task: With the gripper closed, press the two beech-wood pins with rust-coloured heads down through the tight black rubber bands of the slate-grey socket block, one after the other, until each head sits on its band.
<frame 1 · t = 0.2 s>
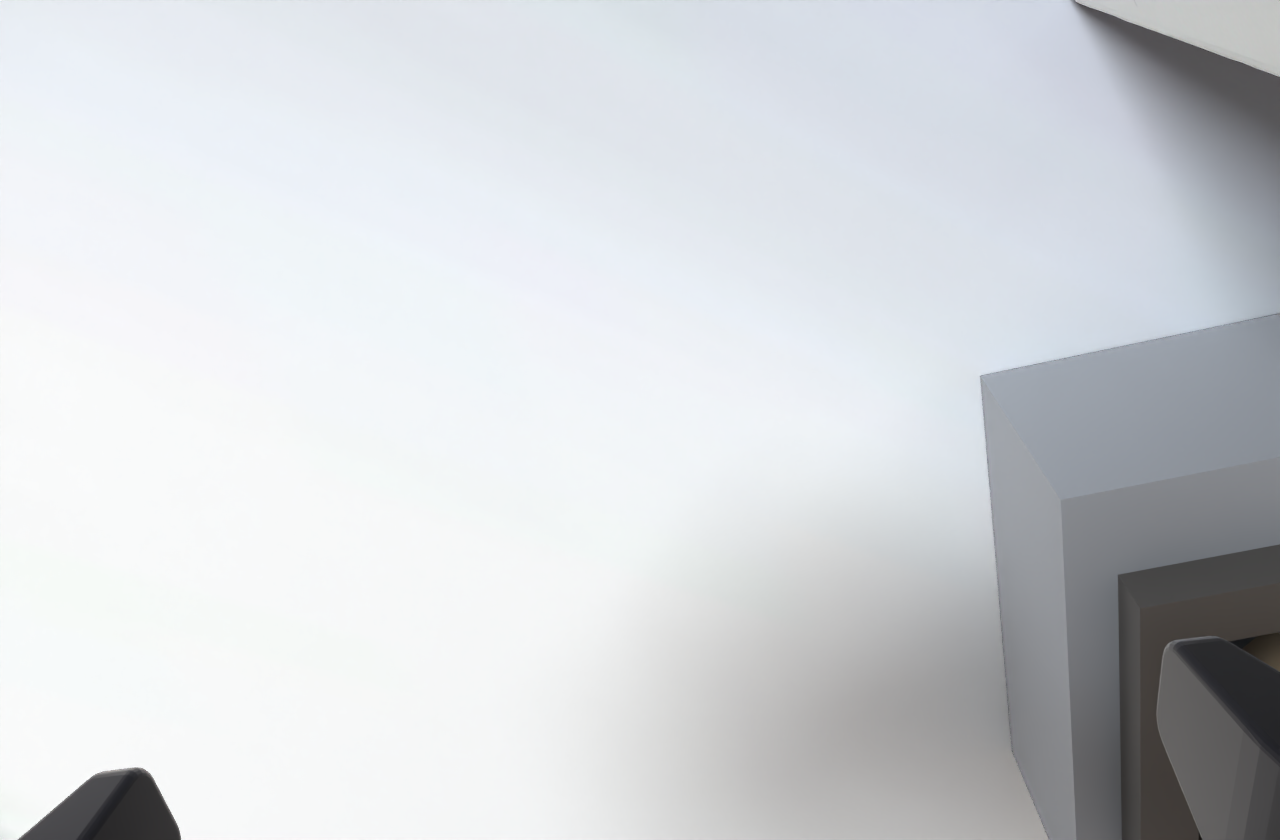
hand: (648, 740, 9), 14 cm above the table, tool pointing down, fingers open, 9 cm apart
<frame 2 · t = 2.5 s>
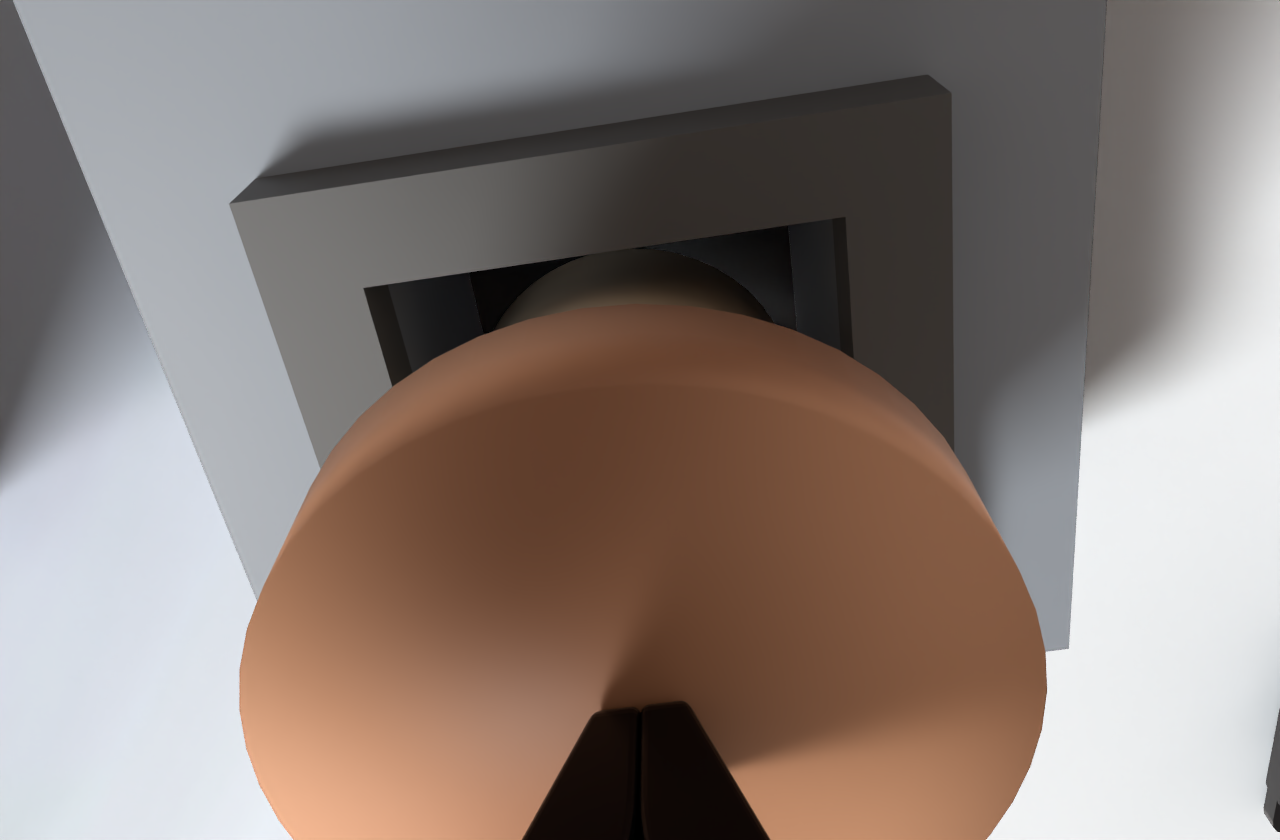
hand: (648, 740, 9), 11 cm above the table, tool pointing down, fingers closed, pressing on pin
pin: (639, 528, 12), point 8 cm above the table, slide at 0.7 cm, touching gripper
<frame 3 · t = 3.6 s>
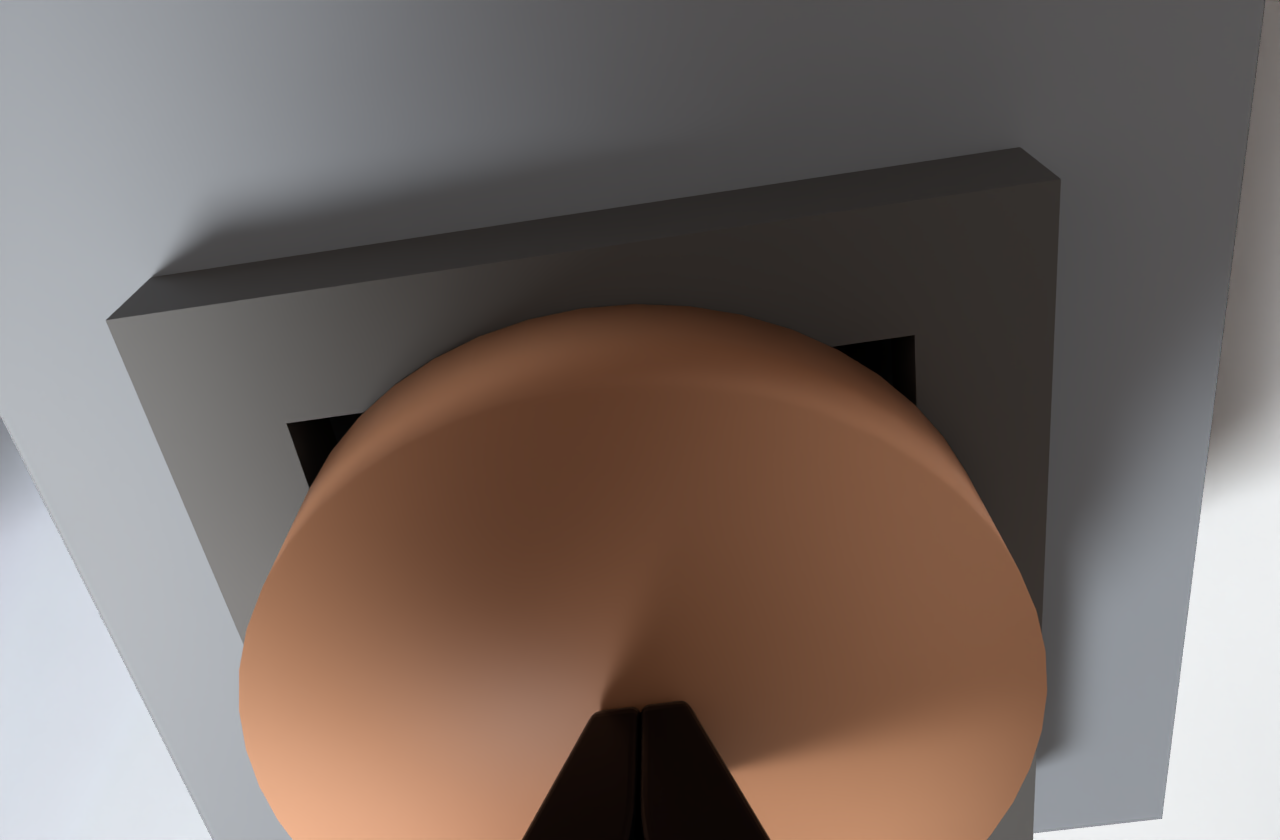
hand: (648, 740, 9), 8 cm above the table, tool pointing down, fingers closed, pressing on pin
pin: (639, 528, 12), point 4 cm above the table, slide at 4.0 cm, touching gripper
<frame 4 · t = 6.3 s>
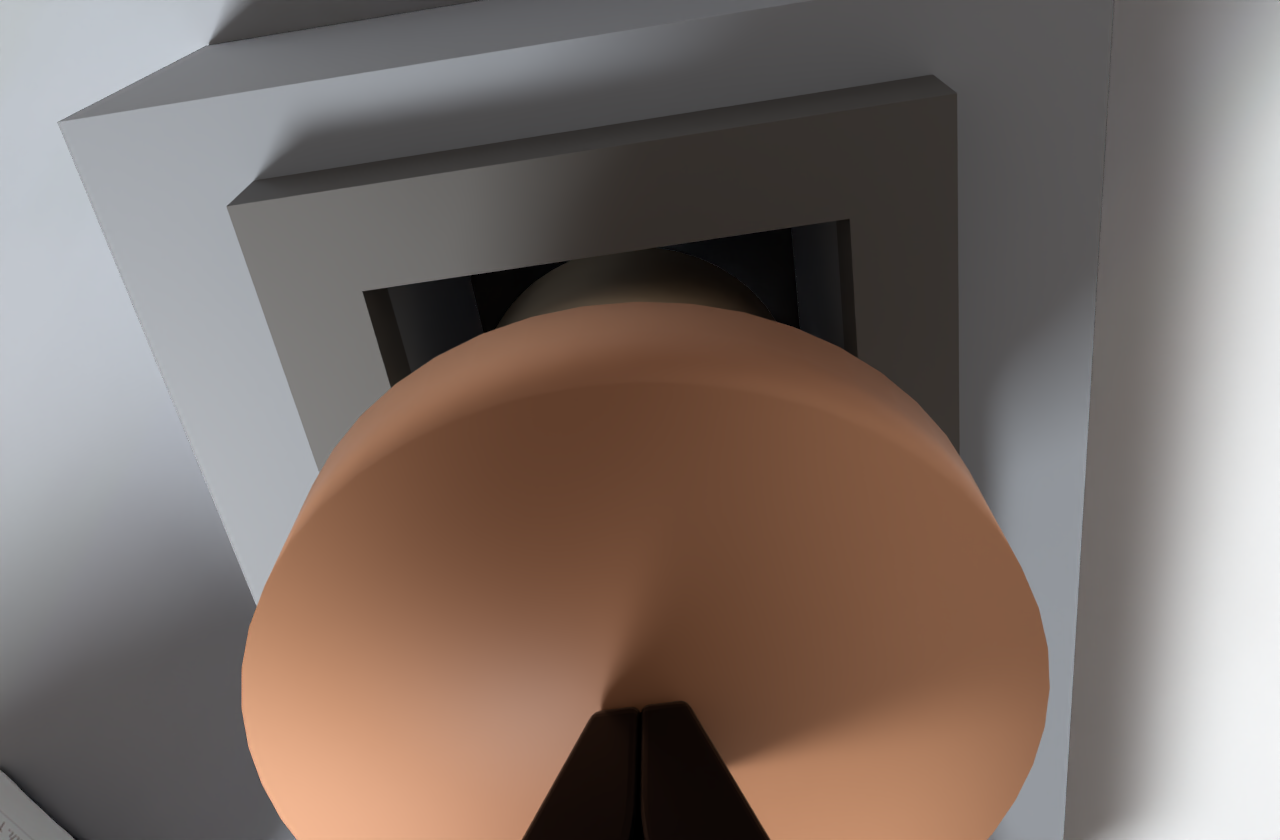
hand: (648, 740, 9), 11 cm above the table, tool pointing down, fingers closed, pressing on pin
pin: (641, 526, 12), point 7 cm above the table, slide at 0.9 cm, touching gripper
socket block: (682, 580, 22), on the table
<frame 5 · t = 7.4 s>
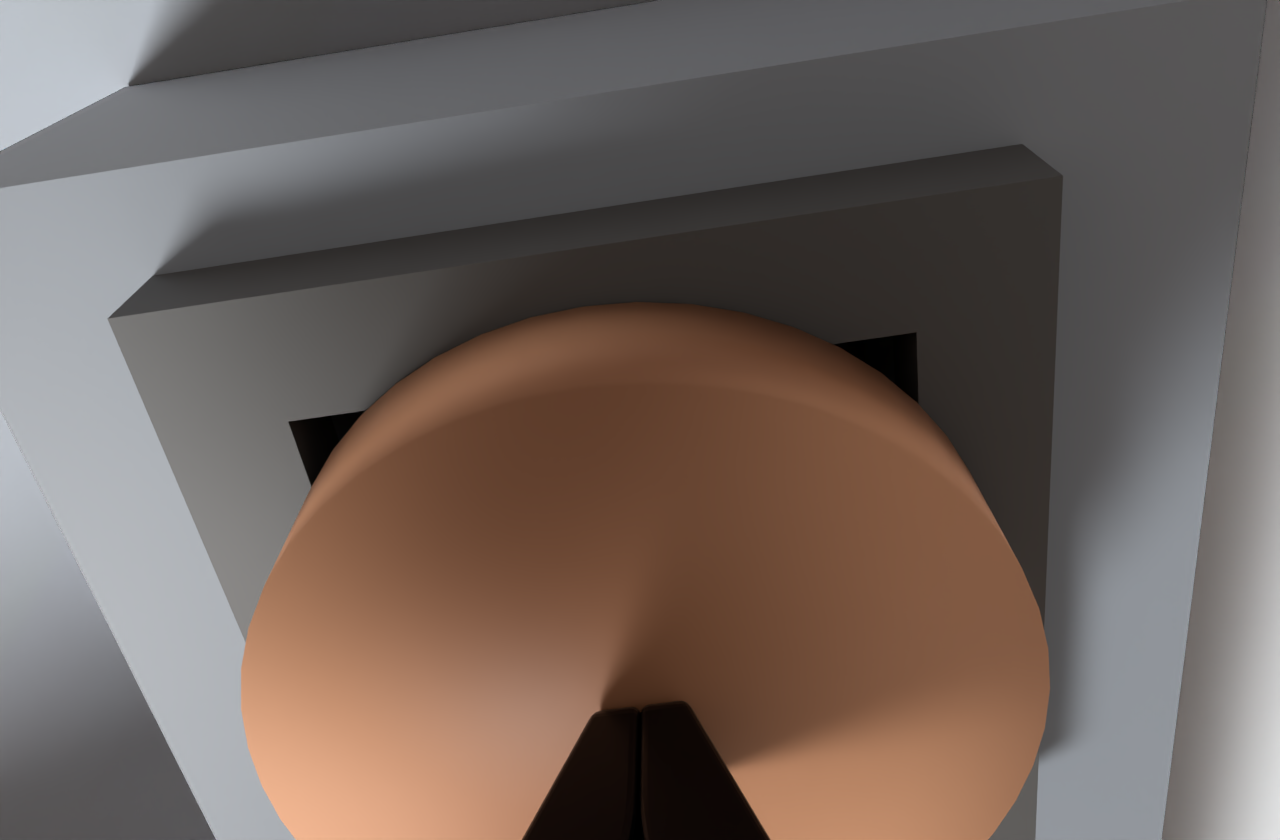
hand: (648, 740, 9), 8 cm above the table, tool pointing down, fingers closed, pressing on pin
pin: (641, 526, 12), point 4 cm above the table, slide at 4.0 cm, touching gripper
socket block: (691, 687, 19), on the table
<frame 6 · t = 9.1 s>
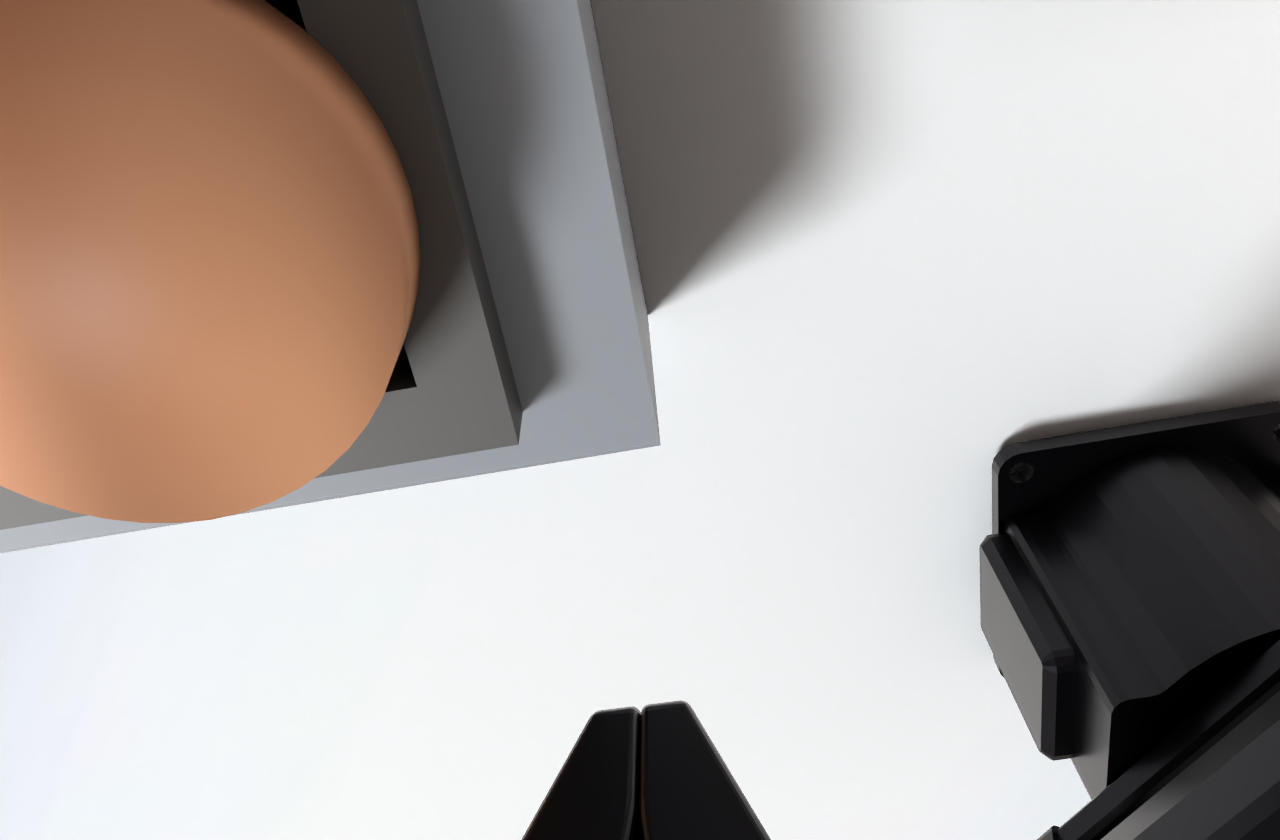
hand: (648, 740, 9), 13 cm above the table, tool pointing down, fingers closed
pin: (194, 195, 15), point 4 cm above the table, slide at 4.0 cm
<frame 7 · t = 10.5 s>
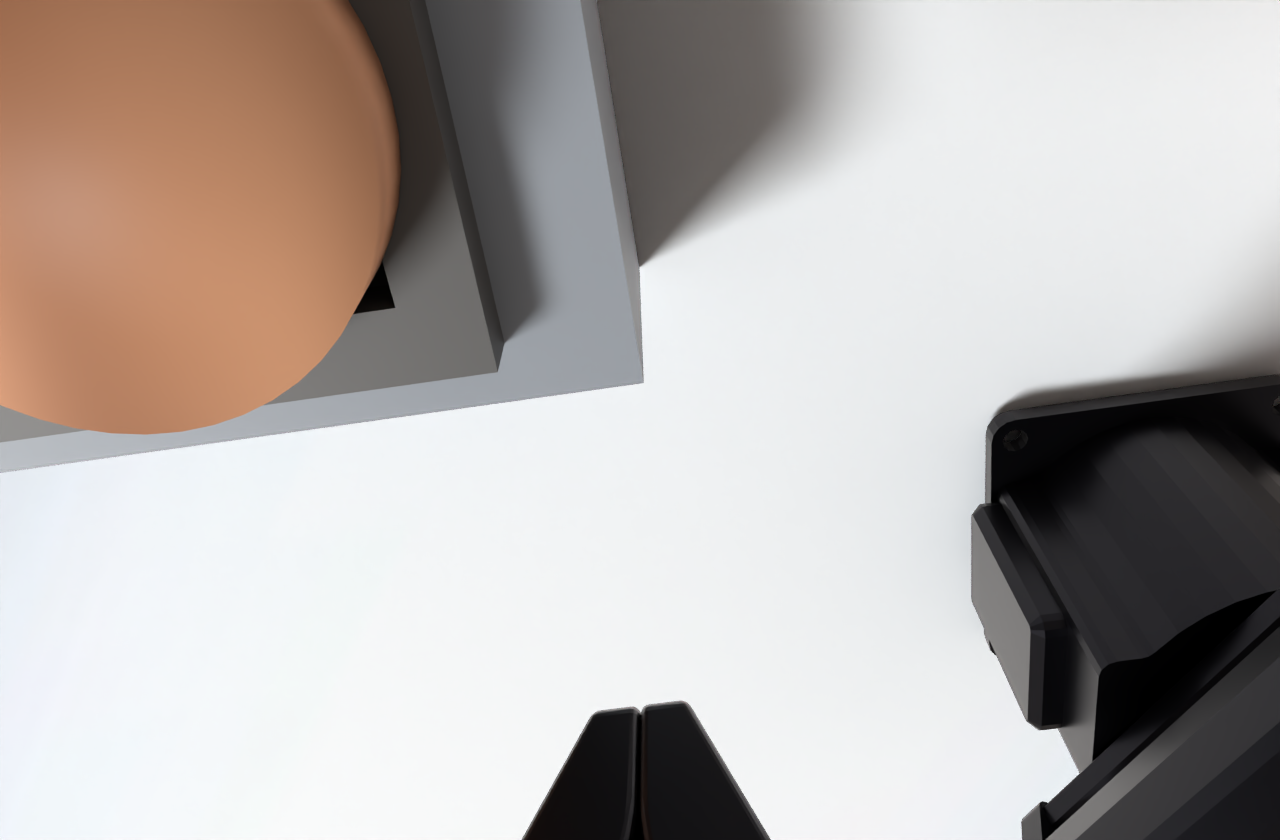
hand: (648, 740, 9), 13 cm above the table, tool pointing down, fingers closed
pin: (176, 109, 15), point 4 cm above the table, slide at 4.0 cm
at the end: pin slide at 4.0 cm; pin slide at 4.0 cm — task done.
